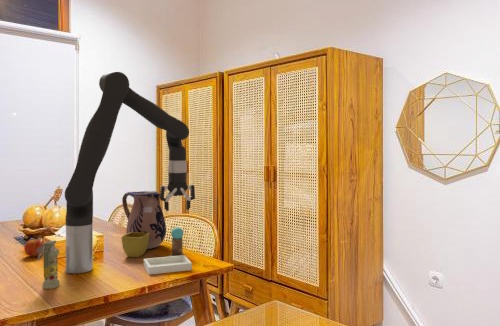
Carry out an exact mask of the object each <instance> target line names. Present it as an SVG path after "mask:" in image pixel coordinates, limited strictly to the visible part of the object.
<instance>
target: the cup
mask: <svg viewBox="0 0 500 326" xmlns="http://www.w3.org/2000/svg"><path fill="white" fill-rule="evenodd" d="M183 241H184V239H183V237H182V238H180V239H174V238H173V237H172V238H171V253H170V254H169V256H179V255H185V253H184V252H183V249H184V248H183V245H184V242H183Z"/></svg>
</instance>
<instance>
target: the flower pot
mask: <svg viewBox="0 0 500 326" xmlns="http://www.w3.org/2000/svg"><path fill="white" fill-rule="evenodd" d="M149 234H150V233H140V232H130V233H128V234H126V233H125V234H123V235H122V236H121V245H122V249H123V251H124V254H125V255H126V257H129V258H130V257H131V258H140V257H141V256H144V255H145V253H146V251H147V250H148V249H147V247H148V242H149Z"/></svg>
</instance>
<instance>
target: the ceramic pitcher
mask: <svg viewBox="0 0 500 326" xmlns="http://www.w3.org/2000/svg"><path fill="white" fill-rule="evenodd" d="M128 196H130V197H132V198H133V204H132V207H131V210H130V209H129V207H128V201H127V199H128ZM121 201H122V208H123V210H124V211H123V212H124V213H125V216H126V219H127V222H126V230H125V231H126V233H125V235H126V234H128V233H130V232H140V233H150V234H149V242H148V247H147V249H146V250H150V249H155V248H157V247H159V246H160V245H161V244H163V241H164V240H165V238H166V236H167V235H166V234H167V224H166V220H165V216H164V213H163V210H162V207H161V203H160V202H161V201H160V192H157V191H154V190H152V191H150V190H149V191H147V190H146V191H145V190H144V191H127V192H126V193H124V194H123V196H122V200H121Z"/></svg>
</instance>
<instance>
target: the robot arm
mask: <svg viewBox="0 0 500 326" xmlns="http://www.w3.org/2000/svg"><path fill="white" fill-rule="evenodd" d="M98 86H99V88H100V90H101V92H102V95H101V99H100V101H99V105H98V107H97V108H96V110H95V112H94V114H93V116H91V118H90V120H89V122H88V124H87V126H86V127H85V131H84V133H83V134H84V135H83V137H82V141H81V144H80V148H79V151H78V156H77V161H76V165H75V169H74V172H73V173H72V175H71V178H70V180H69V182H68V184H67V186H66V188H65V191H64V200H65V201H66V211H65V274H83V273H84V274H85V273H87V272H91V271H93V268H94V267H93V265H94V262H93V261H94V260H93V259H94V256H93V255H94V253H93V252H94V247H93V245H94V242H93V241H94V240H93V239H94V237H93V235H94V234H93V228H94V225H93V223H94V222H93V221H94V220H93V218H94V217H93V216H94V190H93V188H94V184H95V179H96V176H97V173H98V170H99V168H100V166H101V164H102V163H103V160H104V158H105V156H106V154H107V151H108V149H109V145H110V142H111V140H112V136H113V133H114V129H115V126H116V122H117V118H118V116H119V112H120V110H121V108H122V106H123V104H124V105H125V106H127V107H128V108H130V109H132V110H133V111H134V112H136V113H137V114H138V115H140V116H141V117H143V119H145V120H147V121H148V122H149V123H150V124H152V125H153V126H155V127H156V128H158V129H160V130H164V131H166V132H165V138H166V142H167V147H168V148H167V149H168V166H167V168H168V169H167V172H168V177H167V179H168V182H167V183H168V184H167V185H160V190H159V191H160V192H159V194H160V197H159V201H162V202H164V208H163V209H164V210H165V211H166V212H169V211H170V209H169V205H170V203H169V202H170V199H171V198H172V197H177V196H179V197H182V196H183V197H184V198H185V199H186V201H185V210H187V211H189V210H190V209H191V201H193V200H195V199H196V194H195V193H196V191H195V185H193V184H189V185H188V184H187V183H188V174H187V173H188V171H187V170H188V166H187V164H188V163H187V149H186V147H184V146H183V142H182V141H183V140H186V139H187V138H188V137H189V136H190V129H189V127H188V126H187V124H186V123H185V122H183V121H182V120H180V119H178V118H176V117H175V116H173V115H171V114H169V113H168V112H167V111H165V110H163V108H161V107H160V106H159V105H157V104H155V103H154V102H152V101H151V100H148V98H145V97H144V96H142V95H140V94H139V93H137V92H136V91H134V90H133V89H132V88H131V87H130V81H129V78H128V76H127V75H126V74H125V73H123V72H122V71H109V72H106V73H103V74H102V75H101V76H100V78H99V81H98ZM167 190H168V193H166V194H167V195H166V196H165V192H166V191H167ZM187 190H189V191H190V196H189V194H188V193H187Z"/></svg>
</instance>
